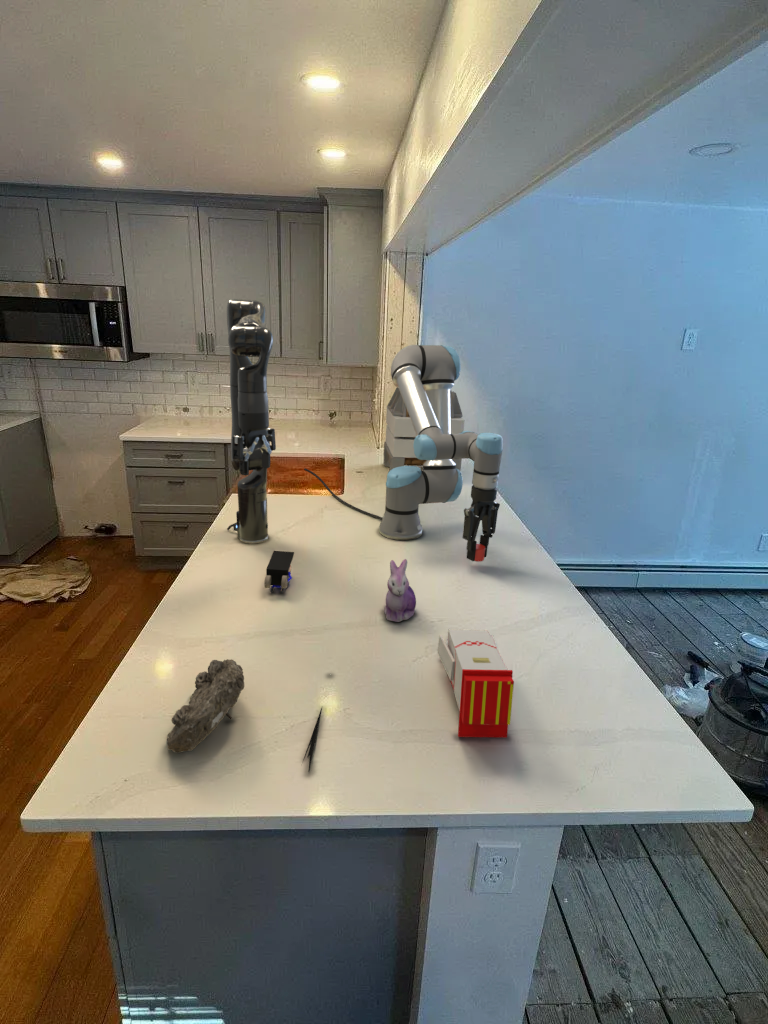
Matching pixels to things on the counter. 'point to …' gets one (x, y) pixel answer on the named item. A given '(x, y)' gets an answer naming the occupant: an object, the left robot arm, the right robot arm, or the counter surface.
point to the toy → (478, 682)
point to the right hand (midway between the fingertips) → (476, 557)
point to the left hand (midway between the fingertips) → (255, 471)
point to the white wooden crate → (411, 432)
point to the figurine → (399, 594)
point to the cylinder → (479, 552)
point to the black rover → (279, 570)
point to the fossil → (206, 705)
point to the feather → (313, 740)
